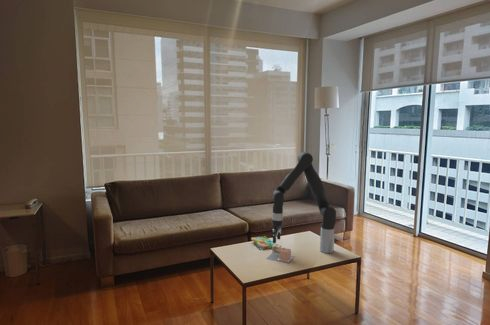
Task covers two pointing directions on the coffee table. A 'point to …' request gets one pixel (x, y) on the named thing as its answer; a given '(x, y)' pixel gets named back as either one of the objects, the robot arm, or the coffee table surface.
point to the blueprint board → (275, 257)
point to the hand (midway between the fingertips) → (276, 241)
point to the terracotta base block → (284, 254)
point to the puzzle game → (263, 242)
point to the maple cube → (276, 247)
